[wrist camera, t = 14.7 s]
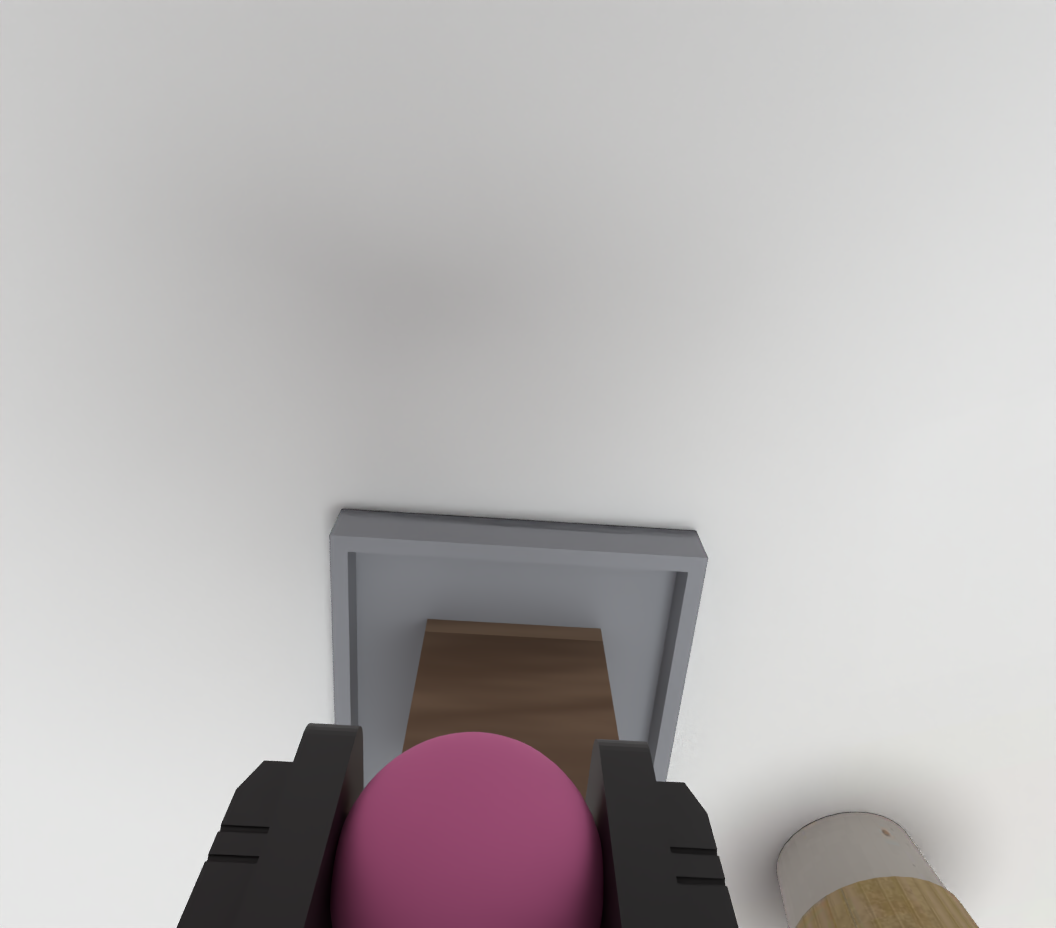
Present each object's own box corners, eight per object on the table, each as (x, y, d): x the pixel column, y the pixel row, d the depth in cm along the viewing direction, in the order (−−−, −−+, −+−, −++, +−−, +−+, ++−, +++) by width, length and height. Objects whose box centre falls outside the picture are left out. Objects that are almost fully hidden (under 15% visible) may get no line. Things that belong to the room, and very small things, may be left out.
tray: (341, 508, 28) (329, 535, 26) (696, 530, 29) (708, 558, 27) (348, 815, 34) (338, 854, 32) (642, 829, 34) (649, 868, 33)
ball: (356, 671, 11) (288, 900, 7) (605, 683, 11) (642, 914, 8) (359, 851, 12) (303, 1110, 9) (580, 860, 12) (602, 1118, 9)
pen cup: (427, 618, 29) (390, 809, 21) (600, 628, 30) (632, 821, 21) (423, 753, 32) (390, 971, 24) (583, 761, 32) (605, 979, 24)
